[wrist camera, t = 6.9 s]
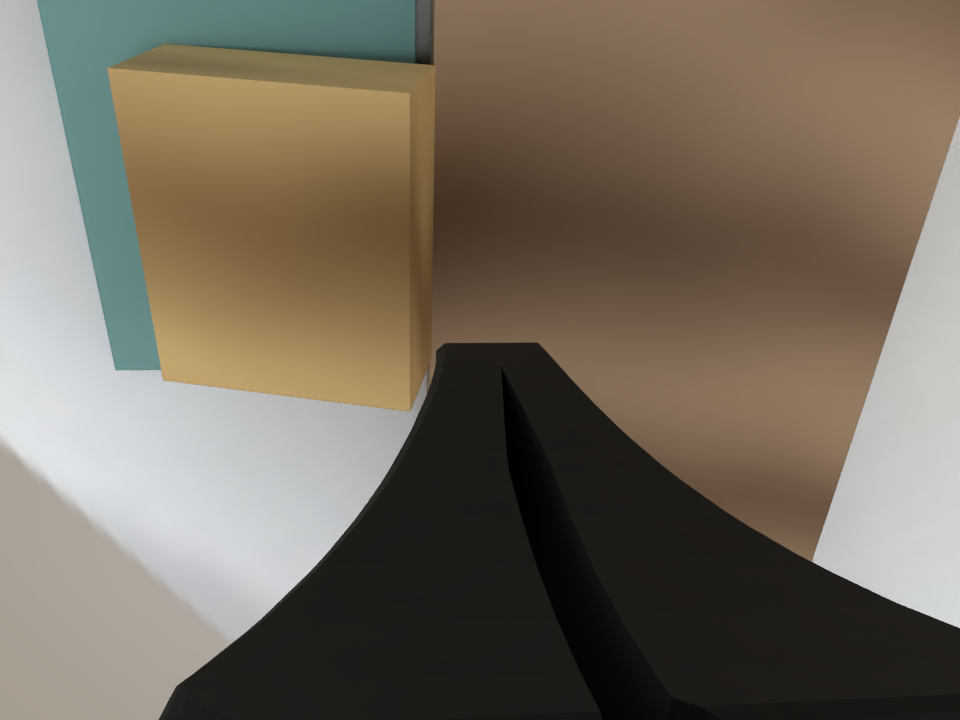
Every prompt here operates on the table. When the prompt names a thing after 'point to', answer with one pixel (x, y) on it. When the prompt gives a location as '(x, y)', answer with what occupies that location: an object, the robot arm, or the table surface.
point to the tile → (283, 218)
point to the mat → (92, 120)
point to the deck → (694, 216)
